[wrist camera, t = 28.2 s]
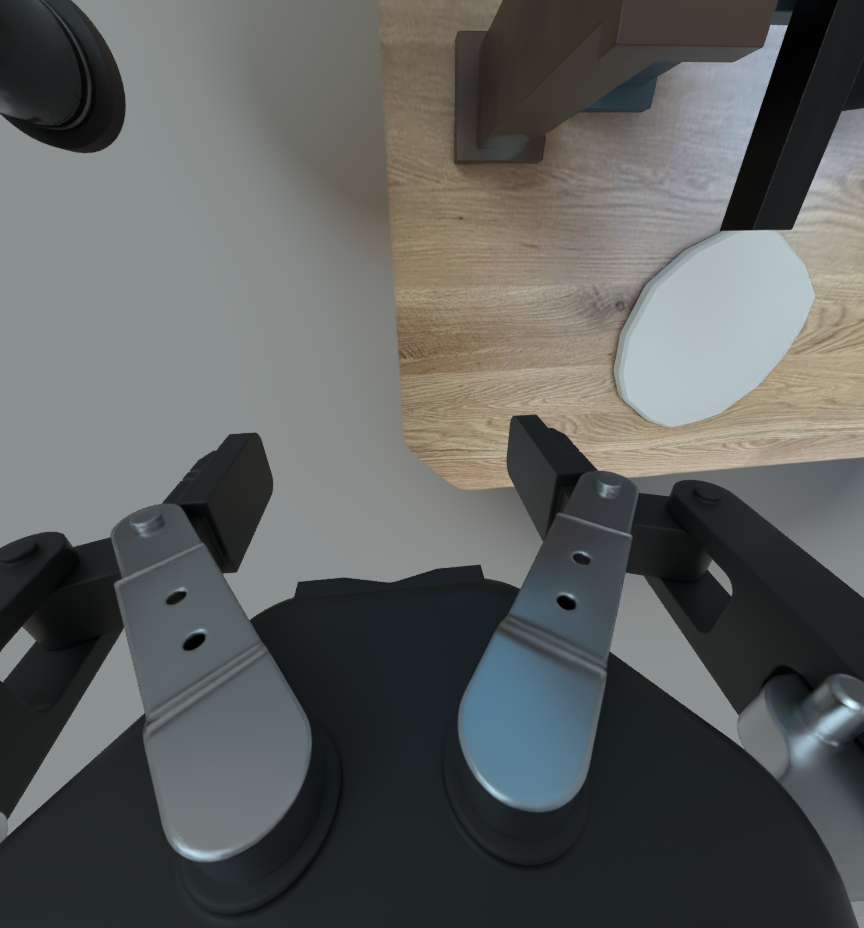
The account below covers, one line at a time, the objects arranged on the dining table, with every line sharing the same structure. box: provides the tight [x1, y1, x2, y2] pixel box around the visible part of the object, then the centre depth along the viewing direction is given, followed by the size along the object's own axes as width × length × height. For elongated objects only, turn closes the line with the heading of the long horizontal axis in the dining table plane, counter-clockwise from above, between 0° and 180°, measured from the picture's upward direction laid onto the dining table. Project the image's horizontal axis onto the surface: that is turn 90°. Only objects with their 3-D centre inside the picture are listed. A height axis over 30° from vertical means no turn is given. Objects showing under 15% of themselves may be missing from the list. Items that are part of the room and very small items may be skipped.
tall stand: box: [454, 0, 778, 164], centre depth 24 cm, size 10×9×30 cm
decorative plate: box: [614, 230, 815, 428], centre depth 49 cm, size 25×4×25 cm
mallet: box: [720, 0, 864, 231], centre depth 18 cm, size 18×7×5 cm, turn 1°
